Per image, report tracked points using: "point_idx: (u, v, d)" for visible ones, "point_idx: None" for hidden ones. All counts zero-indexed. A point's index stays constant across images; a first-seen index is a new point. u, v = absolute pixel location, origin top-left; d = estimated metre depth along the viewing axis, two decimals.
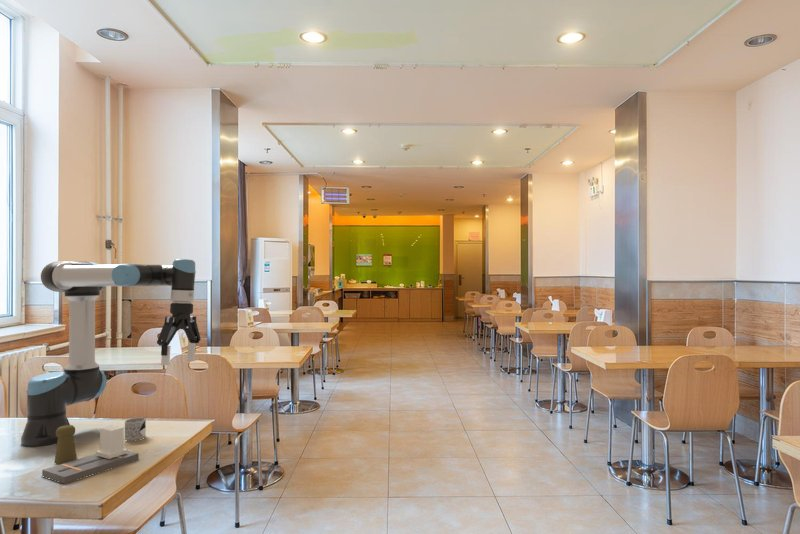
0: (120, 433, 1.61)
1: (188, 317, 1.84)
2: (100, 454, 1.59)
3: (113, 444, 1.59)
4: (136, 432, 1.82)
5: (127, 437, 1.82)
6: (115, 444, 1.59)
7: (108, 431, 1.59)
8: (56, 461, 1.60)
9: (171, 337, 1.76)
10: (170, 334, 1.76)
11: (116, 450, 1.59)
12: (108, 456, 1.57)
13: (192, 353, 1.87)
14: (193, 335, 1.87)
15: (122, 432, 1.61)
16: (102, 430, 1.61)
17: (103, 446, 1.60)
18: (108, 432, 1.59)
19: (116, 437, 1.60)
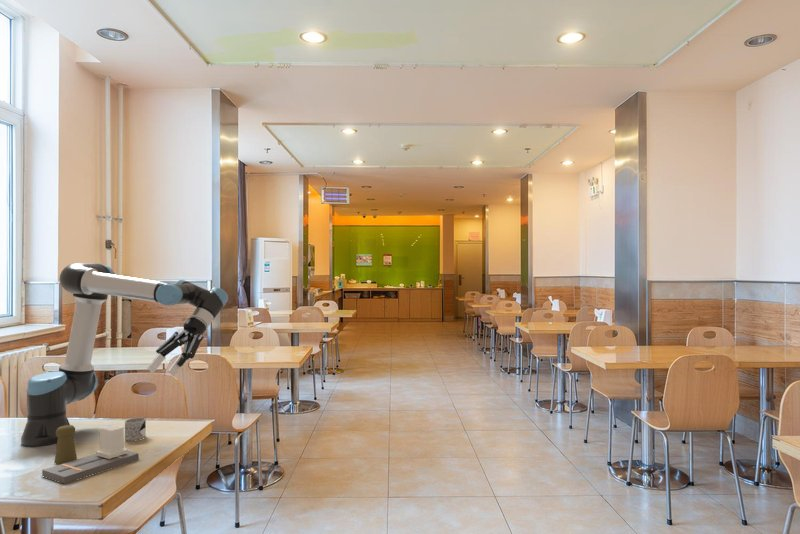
0: (120, 433, 1.61)
1: None
2: (100, 454, 1.59)
3: (113, 444, 1.59)
4: (136, 432, 1.82)
5: (127, 437, 1.82)
6: (115, 444, 1.59)
7: (108, 431, 1.59)
8: (56, 461, 1.60)
9: None
10: None
11: (116, 450, 1.59)
12: (108, 456, 1.57)
13: (157, 365, 1.81)
14: None
15: (122, 432, 1.61)
16: (102, 430, 1.61)
17: (103, 446, 1.60)
18: (108, 432, 1.59)
19: (116, 437, 1.60)
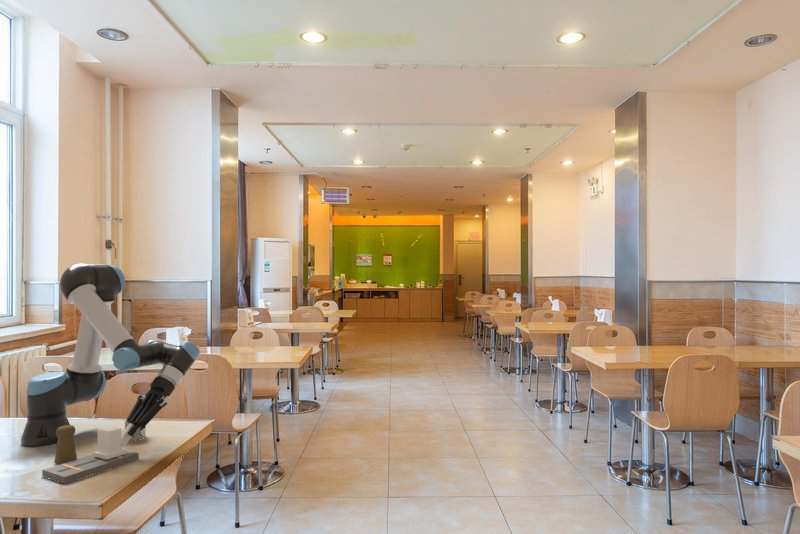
0: (118, 434, 1.60)
1: None
2: (97, 455, 1.58)
3: (111, 444, 1.58)
4: (136, 432, 1.82)
5: None
6: (112, 445, 1.58)
7: (106, 432, 1.58)
8: (56, 461, 1.60)
9: None
10: None
11: (114, 451, 1.59)
12: (105, 457, 1.56)
13: None
14: None
15: (119, 433, 1.61)
16: (99, 430, 1.60)
17: (101, 447, 1.59)
18: (105, 433, 1.58)
19: (114, 437, 1.59)
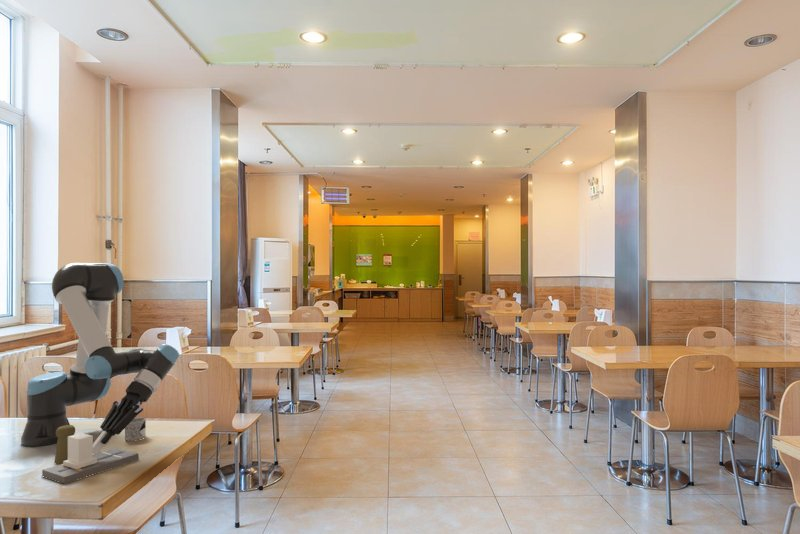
0: (89, 442, 1.53)
1: None
2: (67, 464, 1.51)
3: (81, 453, 1.50)
4: (136, 432, 1.82)
5: (127, 437, 1.82)
6: (83, 453, 1.51)
7: (76, 440, 1.51)
8: (56, 461, 1.60)
9: None
10: None
11: (84, 460, 1.51)
12: (75, 466, 1.49)
13: None
14: None
15: (91, 441, 1.53)
16: (70, 438, 1.52)
17: (71, 455, 1.52)
18: (75, 441, 1.51)
19: (84, 445, 1.51)
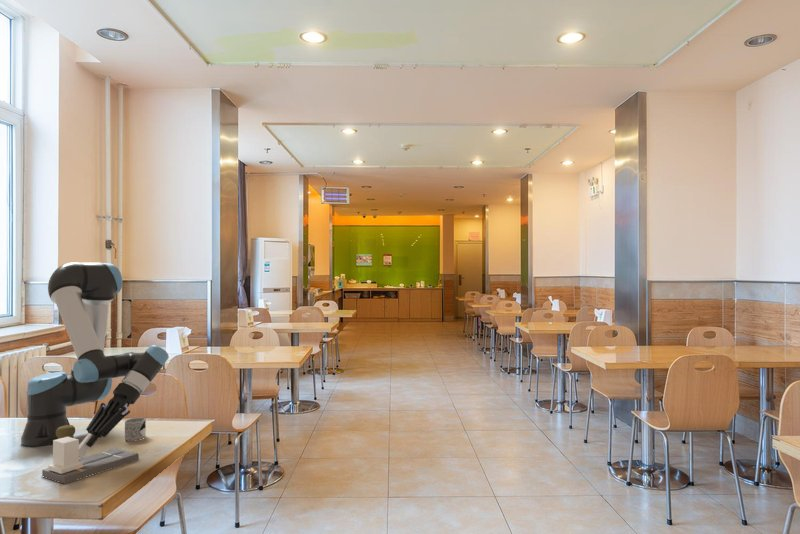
0: (75, 446, 1.49)
1: None
2: (52, 468, 1.47)
3: (67, 457, 1.47)
4: (136, 432, 1.82)
5: (127, 437, 1.82)
6: (68, 457, 1.47)
7: (61, 443, 1.47)
8: None
9: None
10: None
11: (70, 464, 1.48)
12: (60, 471, 1.45)
13: None
14: None
15: (77, 445, 1.49)
16: (55, 442, 1.49)
17: (56, 460, 1.48)
18: (61, 445, 1.47)
19: (70, 449, 1.48)
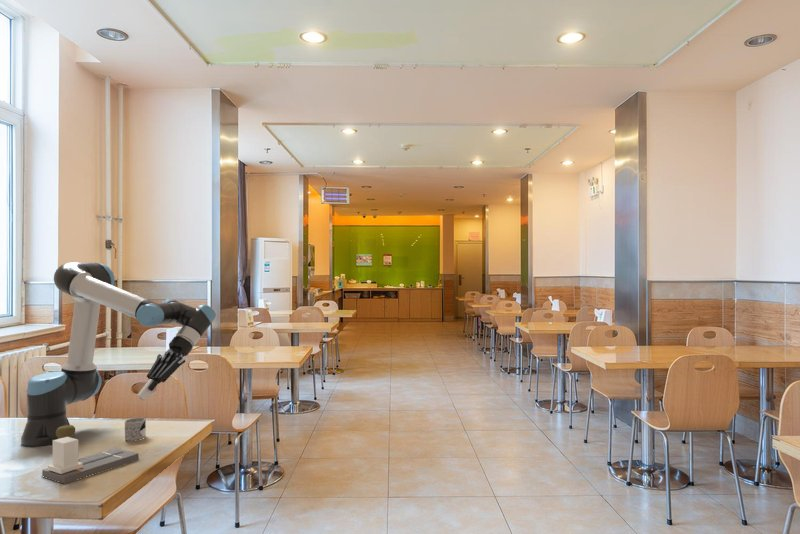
0: (75, 446, 1.49)
1: None
2: (52, 468, 1.47)
3: (66, 457, 1.47)
4: (136, 432, 1.82)
5: (127, 437, 1.82)
6: (68, 458, 1.47)
7: (61, 444, 1.47)
8: None
9: None
10: None
11: (69, 464, 1.48)
12: (60, 471, 1.45)
13: None
14: None
15: (76, 445, 1.49)
16: (55, 442, 1.49)
17: (56, 460, 1.48)
18: (60, 445, 1.47)
19: (70, 450, 1.48)
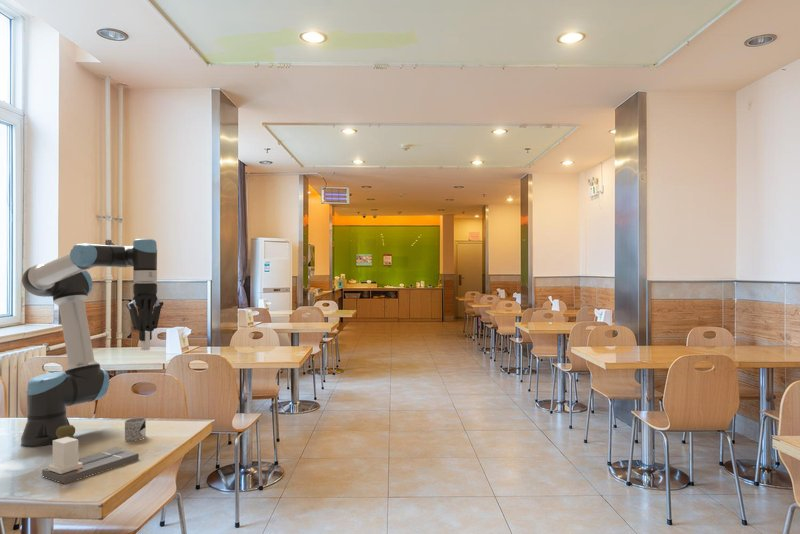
0: (75, 446, 1.49)
1: (155, 296, 1.83)
2: (52, 468, 1.47)
3: (66, 457, 1.47)
4: (136, 432, 1.82)
5: (127, 437, 1.82)
6: (68, 458, 1.47)
7: (61, 444, 1.47)
8: None
9: (143, 322, 1.79)
10: (141, 319, 1.79)
11: (69, 464, 1.48)
12: (60, 471, 1.45)
13: None
14: (150, 320, 1.81)
15: (76, 445, 1.49)
16: (55, 442, 1.49)
17: (56, 460, 1.48)
18: (60, 445, 1.47)
19: (70, 450, 1.48)
